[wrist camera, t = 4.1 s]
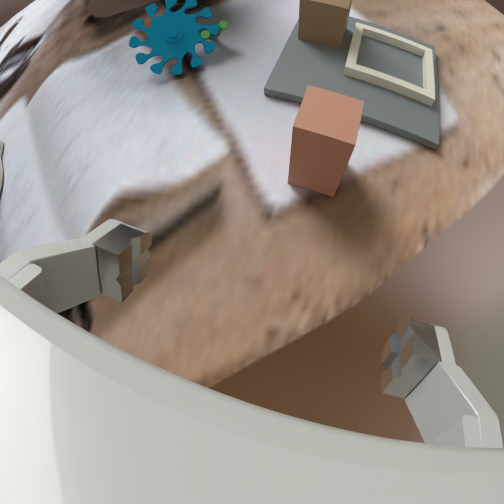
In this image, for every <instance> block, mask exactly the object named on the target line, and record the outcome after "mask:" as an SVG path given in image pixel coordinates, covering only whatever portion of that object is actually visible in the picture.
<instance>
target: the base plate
mask: <svg viewBox="0 0 504 504" xmlns="http://www.w3.org/2000/svg"><path fill="white" fill-rule="evenodd" d="M351 1H352V0H300V8H299V20H298V22H297V24H296V25H295V27H294V29H293V31H292V33H291V35H290V37H289V39H288V41H287V43H286V45H285V47H284V49H283V51H282V53H281V55H280V57H279V59H278V61H277V63H276V65H275V67H274V69H273V71H272V73H271V75H270V77H269V79H268V81H267V83H266V85H265V88H264V95H268V96H272V97H277V98H281V99H285V100H289V101H293V102H297V103H302V100H303V98H304V95H305V92H306V89H307V87H308V85H310V86H314V87H318V88H322V89H325V90H329V91H332V92H336V93H339V94H343V95H346V96H349V97H352V98H355V99H359V100H362V101H364V105H363V111H362V116H361V121H362V122H365V123H368V124H371V125H374V126H376V127H379V128H382V129H385V130H387V131H390V132H393V133H395V134H398V135H400V136H403V137H406V138H408V139H410V140H413V141H415V142H418V143H420V144H423V145H425V146H427V147H430V148H432V149H434V150H436V148H437V147H438V146H439V91H438V75H437V63H436V54H435V47H434V46H431V45H429V44H427V43H424V42H422V41H420V40H417V39H415V38H412V37H410V36H407V35H404V34H402V33H399V32H396V31H394V30H391V29H388V28H385V27H382V26H379V25H376V24H373V23H370V22H366V21H363V20H360V19H356V18H352V17H349V12H350V7H351Z"/></svg>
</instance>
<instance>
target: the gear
mask: <svg viewBox="0 0 504 504" xmlns="http://www.w3.org/2000/svg"><path fill="white" fill-rule="evenodd" d="M165 3H166V9H165V12H164V13H163V15H162V16H161V17H156V16H155V14H156V12H157V10H158V8H157V5H156V4H151V5H149V6H147V7H146V8H145V10H146V12H147V13H148V14H149V15H150V16H151V17H152V25H151V27H149V28H145V27H144V21H143V20H142V19H141V18H138V19H136V20H135V21H134V23H133V24H132V27H133V28H134V29H137V30H142V31H144V32H145V33H147V35H148V39H147V40H146V41H140V39H139V38H138V37H136V36H133V37H131V39H130V42H129V46H130V47H132V48H136V47H138V46H149V47H151V48H152V51H151V53H150V54H144V53H138V54H137V55H136V60H137V62H138V64H144V63H145V62H146V61H147V60H148V59H149V58H151V57H154V56H158V55H161V56H162V57H163V60H162V61H161V62H160V63H156V64H153V65H152V66H151V68H150V69H151V70H152V71H153V72H154V73H156V74H160V73H161V72H162V69H163V66H164V65H165V63H166V62H167V61H168V60H170V59H171V58H177V59H178V62H177V64H176V65H174V66H173V67H172V68H171V73H172V74H175V75H181V74H182V72H183V69H182V59H183V57H184V55H185V54H186V53H191V54H192V55H193V58H192V60H191V66H192V67H193V68H195V67H198V66H200V65H202V59H201V58H199V57H198V56H197V54H196V52H195V45H196V44H197V43H202V44H203V45H204V50H205V52H206V53H208V54H209V53H211V52H212V51H213V50H214V49H215V47H216V45H215V44H214V43H212V42H208V41H206V40H207V39H215V38H217V37H218V36H219V35H220V33H221V30H222V31H223V30H226V28H227V27H228V22H227V21H225V20H222V21H220V22H219V25H217V24H212V25H202V24H199V23H197V22H196V21H195V19H196V18H198V17H202V18H205V19H209V18H211V17H212V12H211V10H210V8H209V7H207V8H204V9H203V10H202V11H200V12H198V13H196V14H190V15H187V14H185V13H184V12H185V10H186V9H190V8H194V7H196V6H197V1H196V0H186V2H185V4H184V6H183V7H182V8H181V9H179V10H178V11H176V12H171V11H170V9H171V8H172V7H173V6H175V5H176V3H177V0H165Z"/></svg>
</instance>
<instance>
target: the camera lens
mask: <svg viewBox="0 0 504 504" xmlns="http://www.w3.org/2000/svg"><path fill="white" fill-rule="evenodd" d="M159 1H160V2H161V3H163V4H164V7H165V8H166V3H165V0H159ZM196 1H197V6H199V5H200V4H202V3H204V2H205V1H206V0H196ZM185 2H186V0H177V3H176V5H175V6H173V7H172V8H171V9H170V11H178V10H179V9H181V8H182V7H183V6H184V4H185ZM190 9H191V8H190ZM186 10H188V9H186Z"/></svg>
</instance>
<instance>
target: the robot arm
mask: <svg viewBox="0 0 504 504" xmlns="http://www.w3.org/2000/svg"><path fill="white" fill-rule="evenodd" d="M3 144H4V143H3V141H2V140H0V191H1V186H2V178H3V168H2V162H1V155H2V150H3ZM150 246H151V235H150V233H149V232H146V231H144V230H141V229H138V228H136V227H133V226H130V225H128V224H125V223H122V222H119V221H116V220H114V219H109V220H107V221H106V222H104V223H103V224H102V225H100V226H99V227H97V228H96V229H94V230H93V231H91V232H90V233H89V234H87V235H86V236H84V237H83V238H81V239H77V238H76V239H71V240H66V241H61V242H57V243H52V244H48V245H43V246H39V247H34V248H30V249H26V250H21V251H17V252H15V253H14V254H12V255H11V256H9V257H8V258H7V259H5V260H4V261H3V262H1V263H0V504H504V448H503V444H502V438H501V432H500V426H499V421H498V417H497V416H496V414H495V413H494V411H493V410H492V409H491V407H490V406H489V405H488V403H487V402H486V401H485V399H484V398H483V397H482V395H481V394H480V393H479V391H478V390H477V388H476V387H475V386H474V385H473V383H472V382H471V381H470V379H469V378H468V377H467V376H466V374H465V373H464V372H463V371H462V369H461V368H460V367H459V366H456V364H455V360H454V356H453V351H452V347H451V344H450V340H449V336H448V332H447V330H446V329H445V328H443V327H439V326H435V325H430V324H427V323H424V322H420V321H417V320H413V319H410V318H407V317H404V318H403V319H402V320H401V321H400V323H399V324H398V326H397V329H398V333H396V334H394V335H392V336H390V338H389V340H388V341H387V343H386V345H385V347H384V350H383V354H382V366H383V367H384V369H385V370H386V371H385V372H384V374H383V375H382V393H385V394H389V395H393V396H397V397H401V398H405V402H406V404H407V406H408V408H409V410H410V412H411V414H412V416H413V418H414V420H415V422H416V424H417V427H418V429H419V431H420V433H421V435H422V437H423V439H424V442H425V443H418V442H410V441H403V440H396V439H390V438H383V437H378V436H373V435H367V434H362V433H357V432H352V431H348V430H343V429H339V428H334V427H330V426H326V425H322V424H318V423H314V422H310V421H307V420H303V419H299V418H296V417H292V416H289V415H285V414H281V413H278V412H275V411H272V410H268V409H265V408H262V407H259V406H256V405H253V404H250V403H247V402H244V401H241V400H238V399H236V398H233V397H230V396H227V395H224V394H222V393H219V392H216V391H214V390H211V389H209V388H206V387H204V386H201V385H198V384H196V383H194V382H191V381H189V380H186V379H184V378H181V377H179V376H177V375H174V374H172V373H170V372H168V371H165V370H163V369H161V368H159V367H157V366H154V365H152V364H150V363H148V362H146V361H144V360H142V359H139V358H137V357H135V356H133V355H131V354H129V353H127V352H125V351H123V350H121V349H119V348H117V347H115V346H114V345H112V344H110V343H108V342H106V341H104V340H102V339H100V338H98V337H97V336H95V335H93V334H91V333H89V332H88V331H86V330H84V329H82V328H81V327H79V326H77V325H75V324H74V323H72V322H70V321H69V320H67V319H65V318H64V317H62V316H60V315H59V314H57V313H59V312H62V311H64V310H66V309H69V308H71V307H74V306H76V305H78V304H81V303H83V302H85V301H88V300H90V299H93V298H95V297H97V296H100V295H101V294H103V295H105V296H107V297H110V298H112V299H114V300H116V301H119V302H121V303H123V302H124V301H125V299H126V298H127V297H128V296H129V295H130V294H131V293H132V292H133V291H134V289H133V285H136V284H139V283H141V282H142V281H143V280H144V279H145V278H146V276H147V274H148V272H149V270H150V266H151V255H150V253H149V252H148V250H147V249H148V248H149V247H150Z"/></svg>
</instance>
